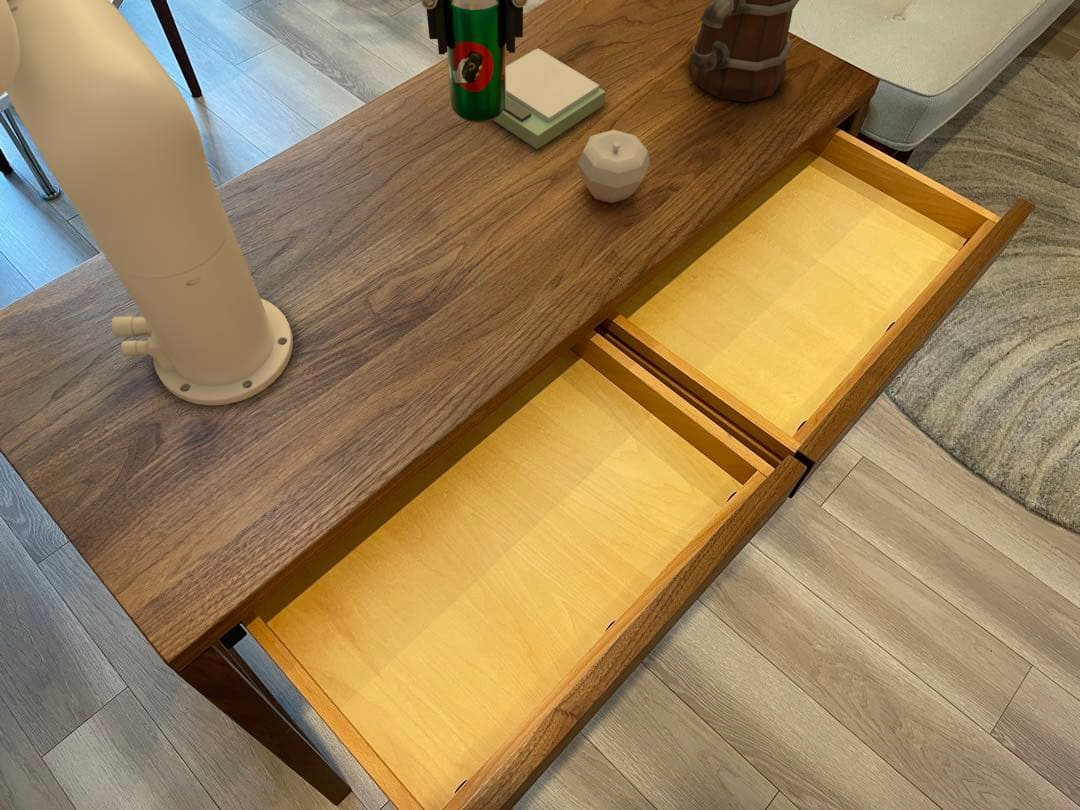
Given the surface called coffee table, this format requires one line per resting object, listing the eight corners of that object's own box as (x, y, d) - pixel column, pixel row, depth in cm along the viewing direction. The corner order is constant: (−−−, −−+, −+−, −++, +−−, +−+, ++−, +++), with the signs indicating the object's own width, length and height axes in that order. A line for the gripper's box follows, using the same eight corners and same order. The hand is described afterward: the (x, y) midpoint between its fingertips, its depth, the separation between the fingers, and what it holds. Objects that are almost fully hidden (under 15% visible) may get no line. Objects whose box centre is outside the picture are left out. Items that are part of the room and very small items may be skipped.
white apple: (605, 158, 92) (612, 110, 86) (658, 191, 89) (668, 144, 83) (560, 192, 88) (564, 144, 83) (614, 227, 86) (621, 180, 80)
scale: (537, 149, 92) (538, 131, 90) (467, 103, 96) (466, 84, 94) (603, 105, 97) (606, 87, 95) (534, 62, 101) (535, 44, 99)
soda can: (515, 116, 72) (516, -12, 62) (466, 132, 71) (458, 4, 60) (490, 85, 74) (487, -43, 64) (442, 100, 73) (431, -28, 63)
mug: (726, 37, 106) (756, -81, 93) (798, 78, 101) (840, -39, 89) (649, 83, 100) (669, -36, 87) (722, 130, 95) (755, 12, 83)
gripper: (329, -185, 49) (374, 73, 64) (599, -186, 50) (580, 69, 65) (337, -234, 53) (377, 20, 68) (587, -234, 54) (571, 17, 69)
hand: (476, 42), depth 67 cm, fingers closed on soda can, 5 cm apart
